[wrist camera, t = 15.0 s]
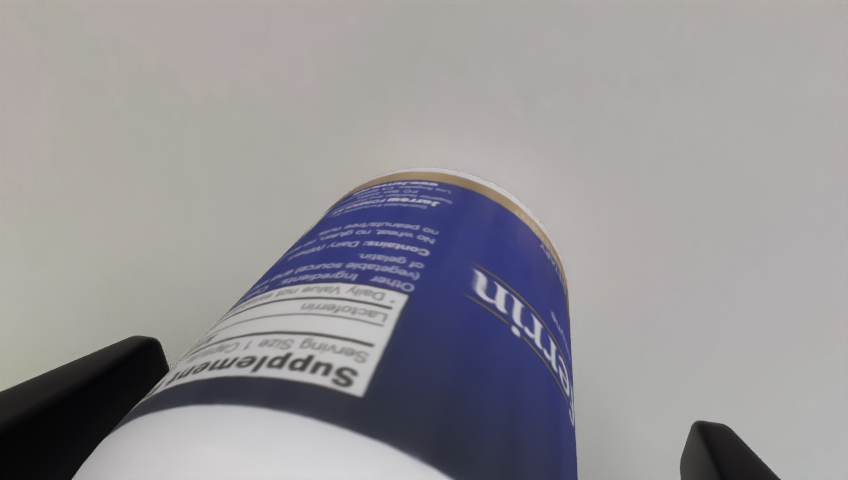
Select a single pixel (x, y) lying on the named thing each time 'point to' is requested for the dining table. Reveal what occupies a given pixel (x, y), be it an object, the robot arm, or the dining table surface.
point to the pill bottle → (377, 353)
